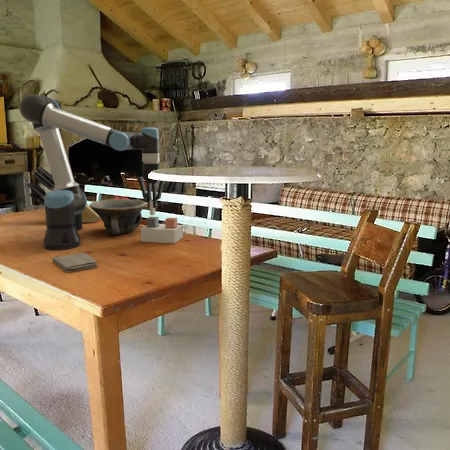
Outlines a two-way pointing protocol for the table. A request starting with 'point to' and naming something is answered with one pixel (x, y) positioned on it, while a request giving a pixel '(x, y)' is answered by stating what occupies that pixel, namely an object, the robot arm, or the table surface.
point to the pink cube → (171, 223)
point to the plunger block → (161, 234)
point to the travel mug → (78, 221)
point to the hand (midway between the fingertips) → (152, 214)
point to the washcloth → (75, 262)
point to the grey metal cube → (153, 222)
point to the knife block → (48, 182)
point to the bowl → (119, 214)
